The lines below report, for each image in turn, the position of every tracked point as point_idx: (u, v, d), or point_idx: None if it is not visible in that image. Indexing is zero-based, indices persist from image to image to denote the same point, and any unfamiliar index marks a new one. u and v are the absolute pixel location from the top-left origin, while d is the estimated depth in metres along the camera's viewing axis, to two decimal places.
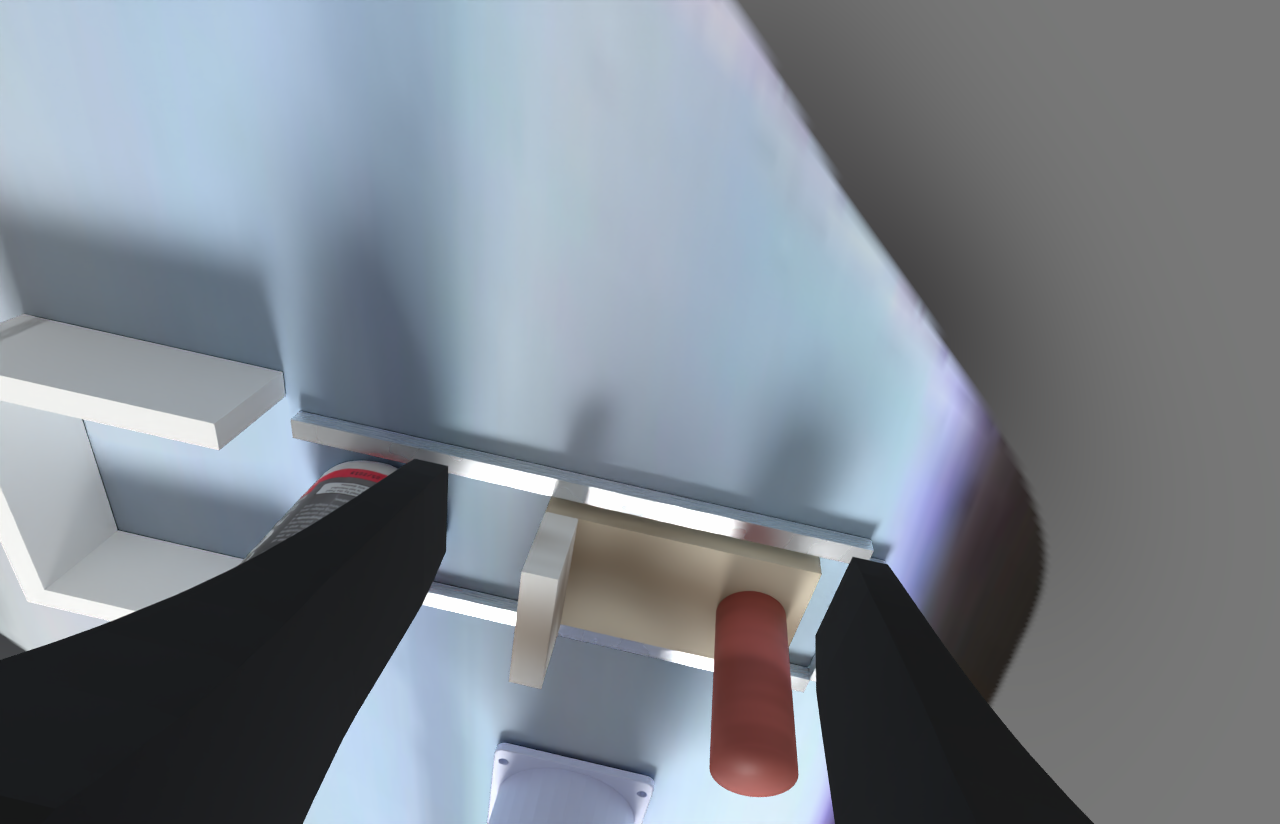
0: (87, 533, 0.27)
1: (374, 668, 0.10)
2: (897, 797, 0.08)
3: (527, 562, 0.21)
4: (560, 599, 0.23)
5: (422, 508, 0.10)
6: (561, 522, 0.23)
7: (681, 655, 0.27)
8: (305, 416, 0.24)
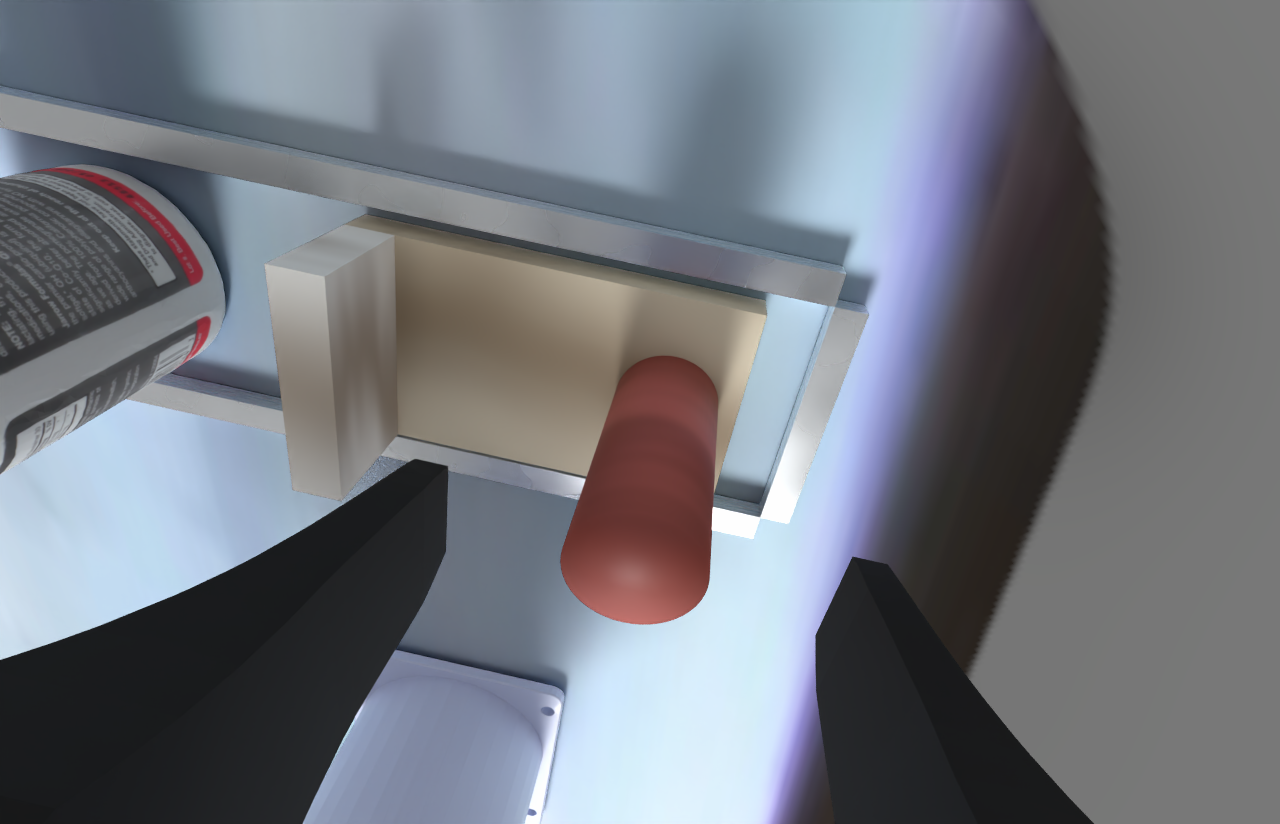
0: None
1: (374, 668, 0.10)
2: (897, 797, 0.08)
3: (281, 258, 0.13)
4: (367, 359, 0.15)
5: (422, 508, 0.10)
6: (364, 235, 0.15)
7: (577, 484, 0.19)
8: None
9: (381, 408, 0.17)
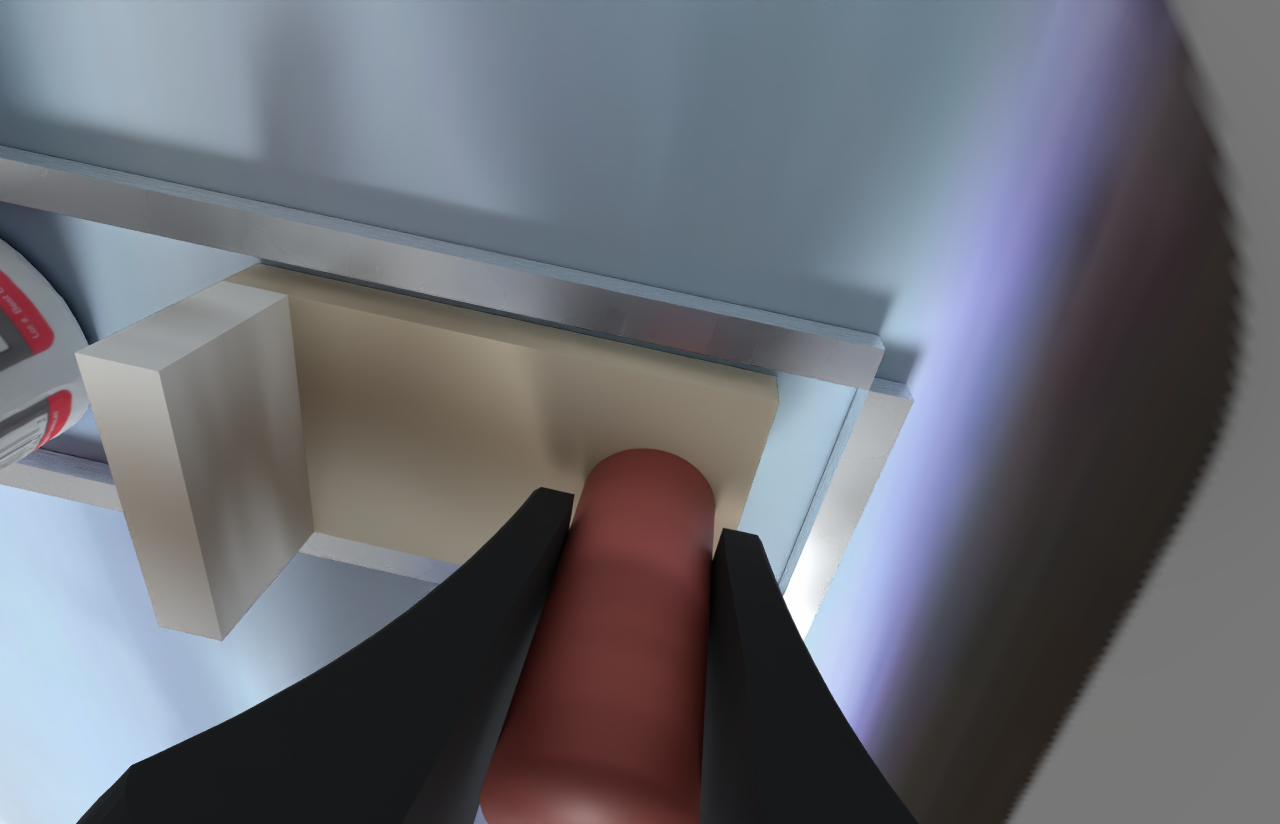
0: None
1: None
2: (721, 757, 0.08)
3: (105, 341, 0.09)
4: (252, 458, 0.12)
5: (559, 539, 0.10)
6: (245, 296, 0.11)
7: None
8: None
9: (283, 510, 0.13)
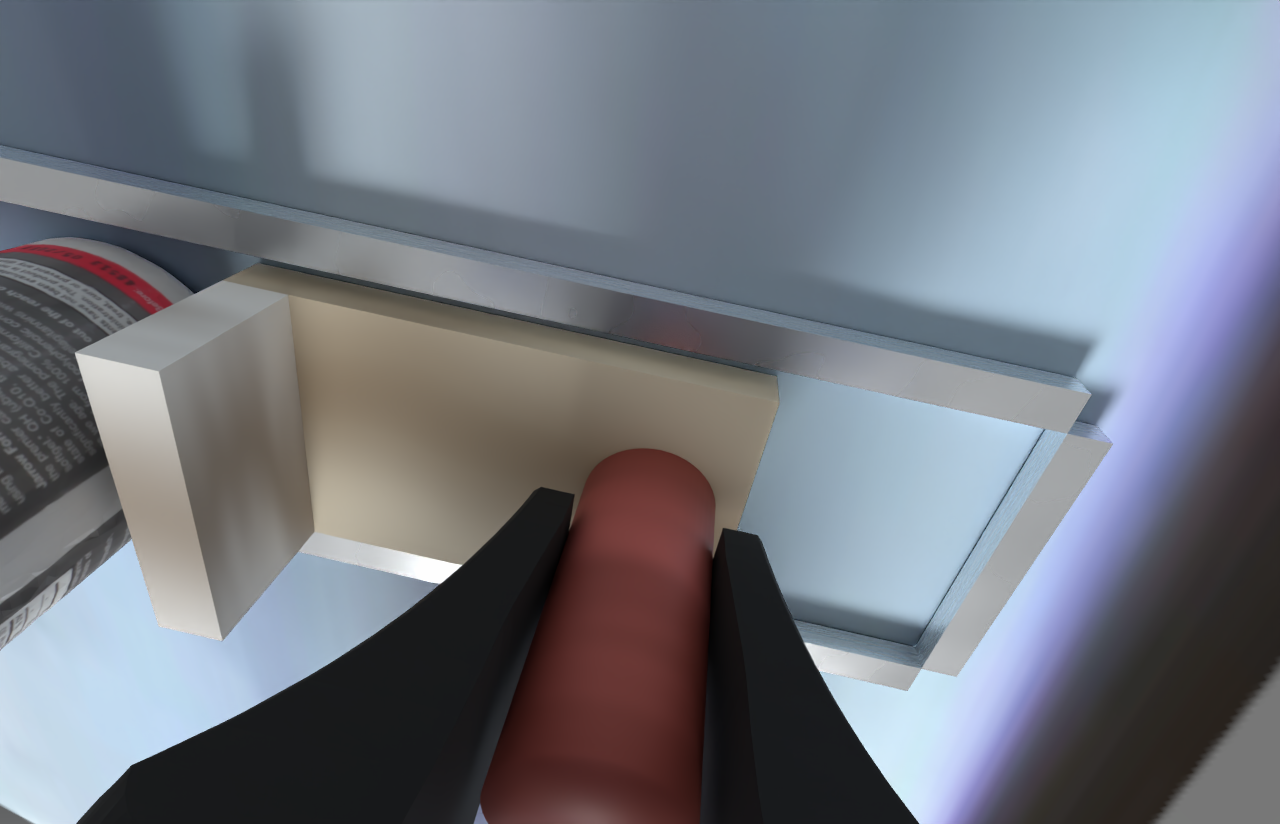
0: None
1: None
2: (722, 756, 0.08)
3: (105, 341, 0.09)
4: (252, 458, 0.12)
5: (559, 539, 0.10)
6: (245, 296, 0.11)
7: None
8: None
9: (283, 510, 0.13)
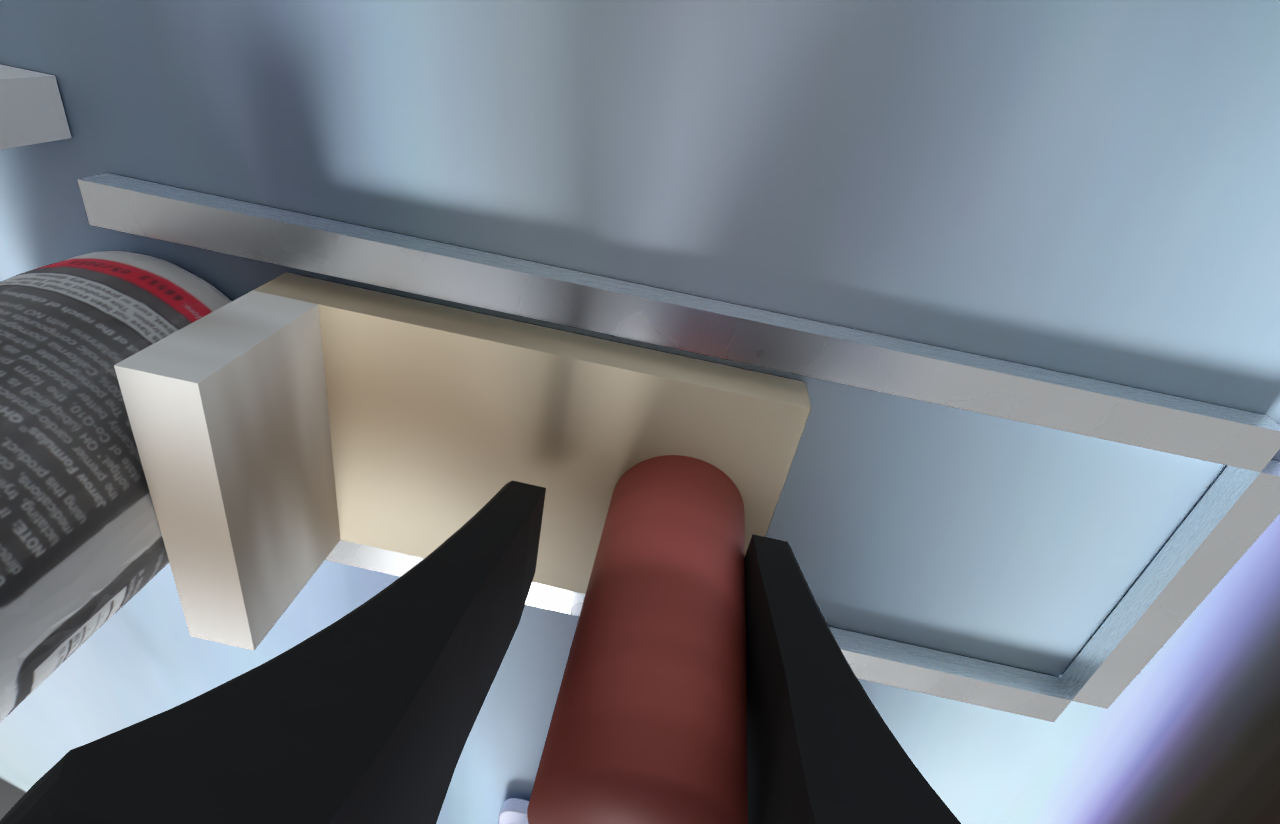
0: None
1: (482, 693, 0.10)
2: (761, 766, 0.08)
3: (143, 353, 0.09)
4: (283, 467, 0.12)
5: (528, 532, 0.10)
6: (276, 306, 0.11)
7: None
8: (112, 178, 0.12)
9: (311, 518, 0.13)
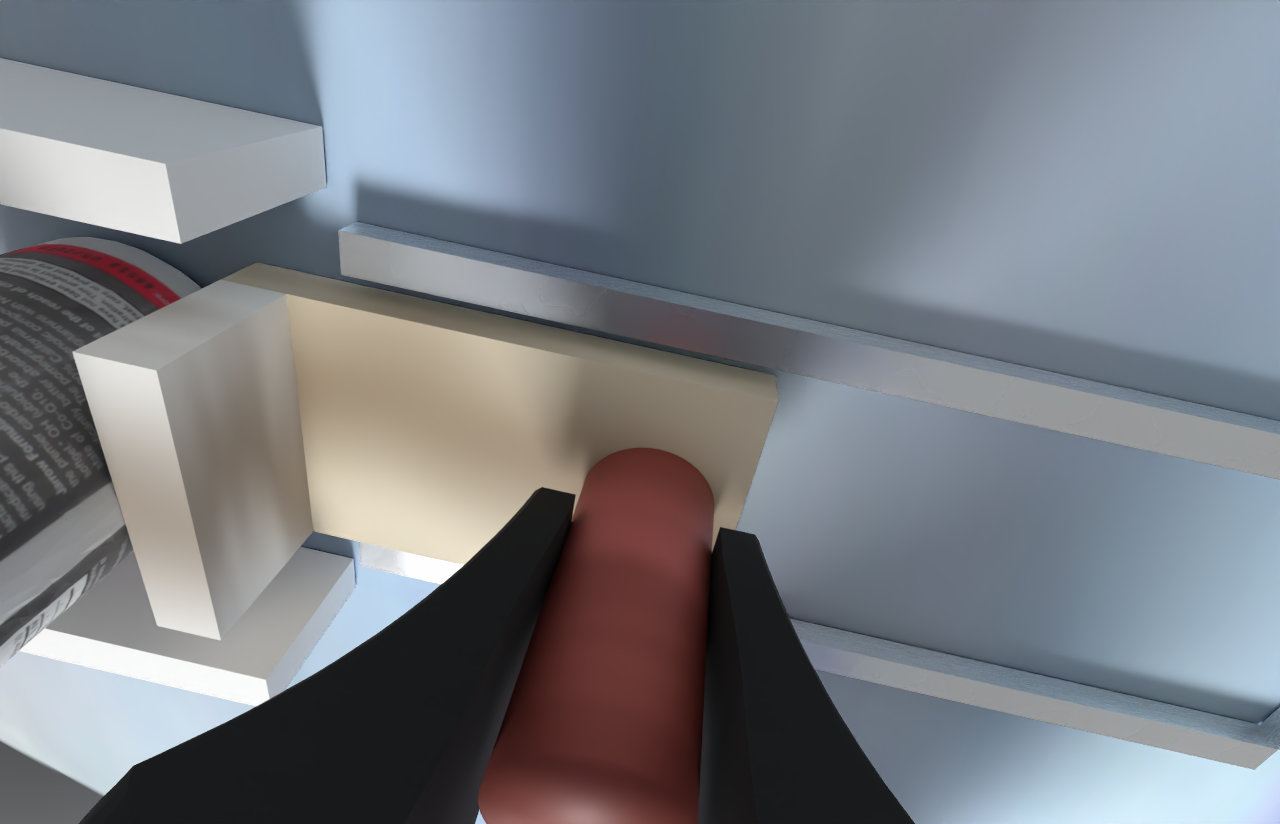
0: None
1: None
2: (718, 756, 0.08)
3: (103, 340, 0.09)
4: (250, 457, 0.12)
5: (560, 539, 0.10)
6: (244, 295, 0.11)
7: (1038, 702, 0.15)
8: (367, 228, 0.12)
9: (282, 509, 0.13)
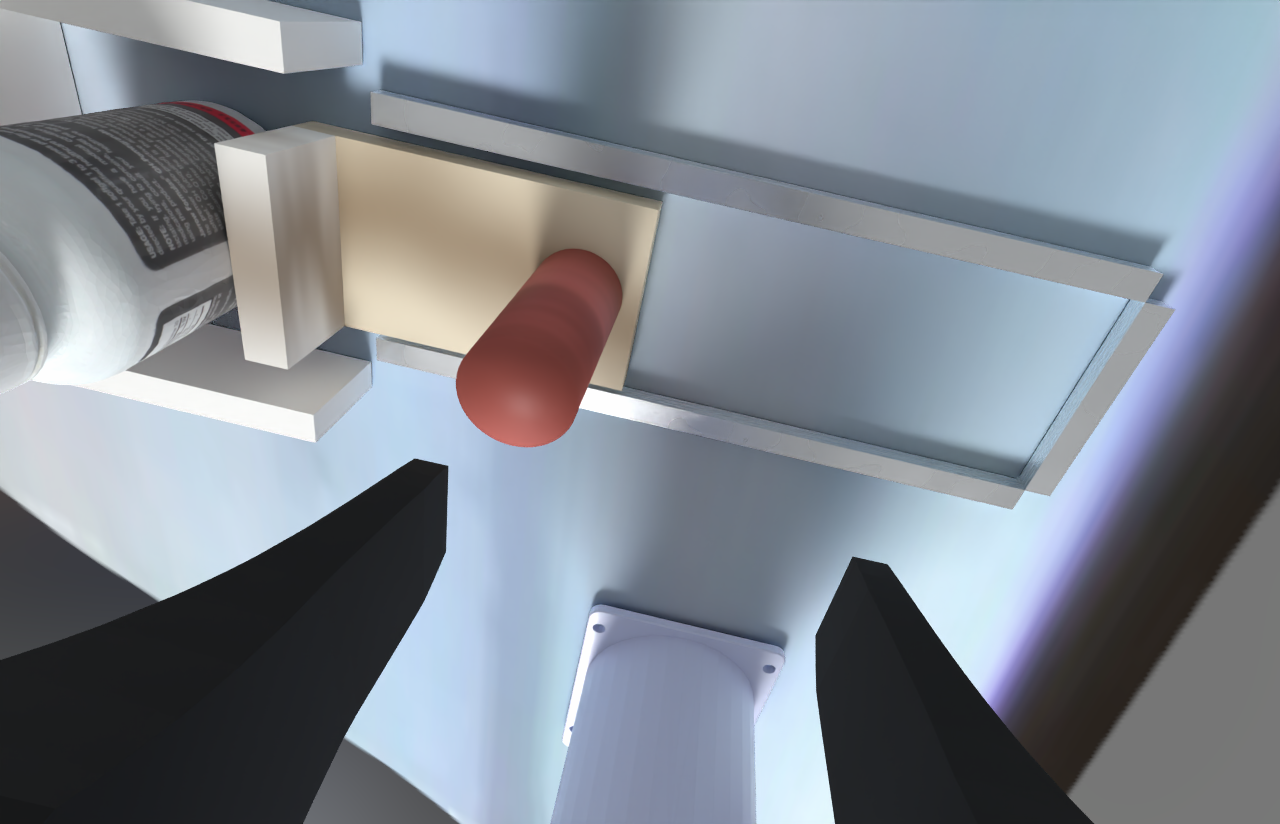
0: None
1: (374, 668, 0.10)
2: (897, 797, 0.08)
3: (229, 141, 0.15)
4: (310, 243, 0.17)
5: (422, 508, 0.10)
6: (307, 133, 0.17)
7: (858, 458, 0.21)
8: (389, 93, 0.17)
9: (326, 295, 0.19)
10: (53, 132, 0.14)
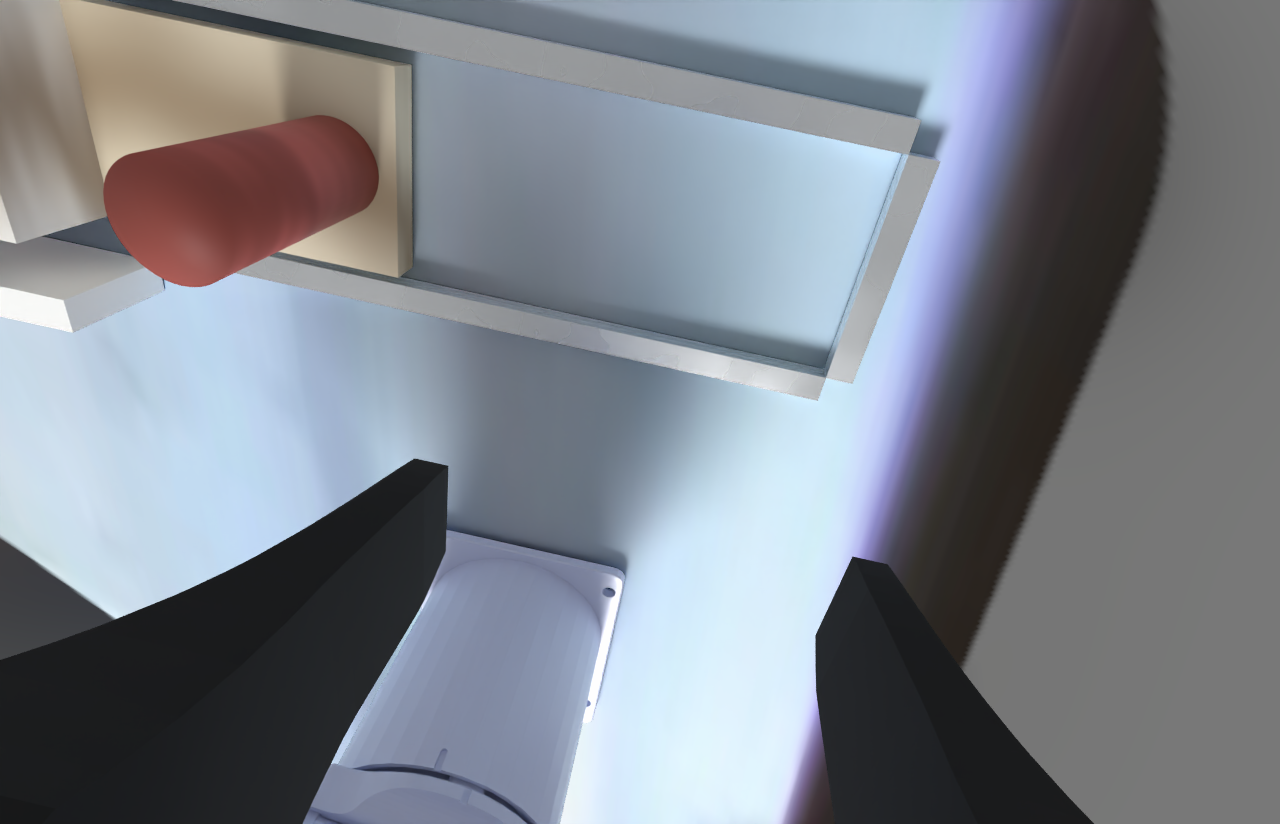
0: None
1: (374, 668, 0.10)
2: (897, 797, 0.08)
3: None
4: (33, 108, 0.17)
5: (422, 508, 0.10)
6: None
7: (653, 347, 0.20)
8: None
9: (72, 173, 0.18)
10: None
